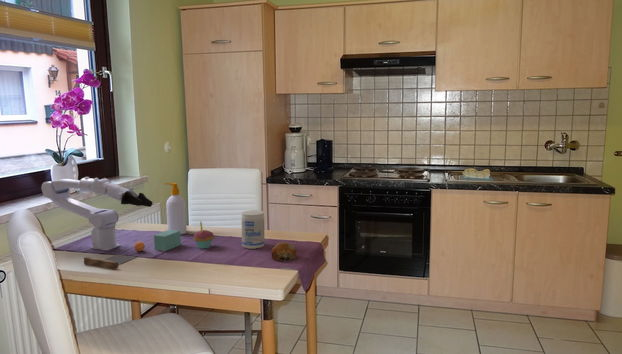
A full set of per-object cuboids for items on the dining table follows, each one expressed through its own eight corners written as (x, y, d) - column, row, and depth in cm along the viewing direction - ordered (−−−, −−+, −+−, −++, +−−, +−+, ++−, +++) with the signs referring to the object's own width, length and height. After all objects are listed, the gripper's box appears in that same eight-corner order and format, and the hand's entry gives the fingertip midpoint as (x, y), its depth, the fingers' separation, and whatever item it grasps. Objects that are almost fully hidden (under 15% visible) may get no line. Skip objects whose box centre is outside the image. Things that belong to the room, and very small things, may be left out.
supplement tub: (245, 250, 194) (244, 215, 192) (239, 244, 203) (238, 211, 201) (267, 247, 198) (267, 213, 196) (261, 241, 206) (260, 209, 204)
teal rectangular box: (154, 249, 197) (154, 235, 196) (170, 243, 205) (169, 229, 205) (165, 251, 194) (164, 236, 193) (180, 244, 203) (180, 230, 202)
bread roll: (298, 265, 187) (301, 245, 189) (289, 262, 177) (292, 241, 179) (275, 263, 190) (278, 243, 192) (265, 259, 180) (269, 238, 183)
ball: (132, 252, 194) (132, 242, 193) (139, 249, 197) (139, 240, 197) (140, 253, 192) (139, 243, 191) (147, 250, 196) (146, 241, 195)
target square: (97, 262, 181) (97, 261, 181) (117, 254, 190) (117, 254, 190) (117, 265, 177) (117, 264, 177) (136, 257, 186) (136, 257, 186)
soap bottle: (171, 230, 228) (168, 181, 224) (189, 230, 226) (187, 181, 223) (163, 235, 219) (160, 184, 216) (182, 235, 218) (179, 184, 214)
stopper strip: (84, 264, 179) (83, 257, 179) (86, 263, 180) (86, 256, 180) (115, 269, 173) (115, 262, 172) (118, 268, 174) (117, 261, 173)
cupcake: (209, 250, 195) (207, 222, 193) (190, 249, 196) (188, 221, 195) (217, 244, 203) (216, 217, 201) (198, 243, 205) (197, 216, 203)
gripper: (111, 182, 187) (138, 193, 184) (133, 185, 201) (159, 196, 198) (104, 198, 187) (132, 210, 184) (127, 201, 201) (153, 211, 198)
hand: (146, 204), depth 191 cm, fingers open, 7 cm apart
